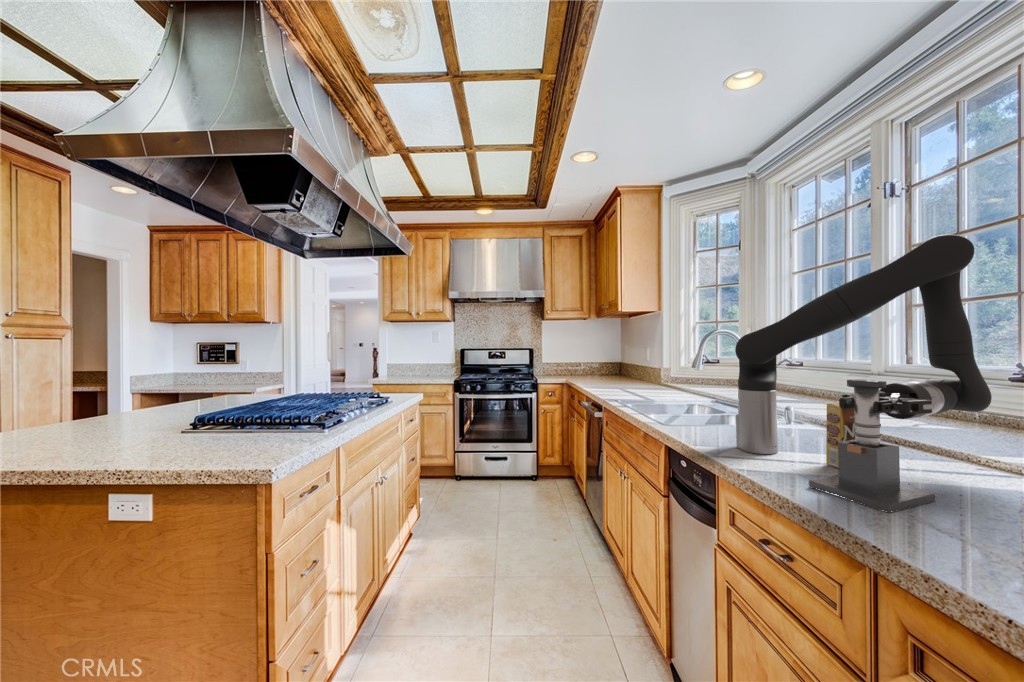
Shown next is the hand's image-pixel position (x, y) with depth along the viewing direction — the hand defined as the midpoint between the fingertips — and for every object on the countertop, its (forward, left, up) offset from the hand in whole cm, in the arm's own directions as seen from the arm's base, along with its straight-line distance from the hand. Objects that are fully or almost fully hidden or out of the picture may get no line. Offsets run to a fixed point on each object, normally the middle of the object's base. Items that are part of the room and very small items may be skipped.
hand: (858, 405), depth 81 cm
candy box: (-13, +19, -18) cm, 29 cm away
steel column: (0, +3, -16) cm, 17 cm away
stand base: (0, +3, -18) cm, 18 cm away
